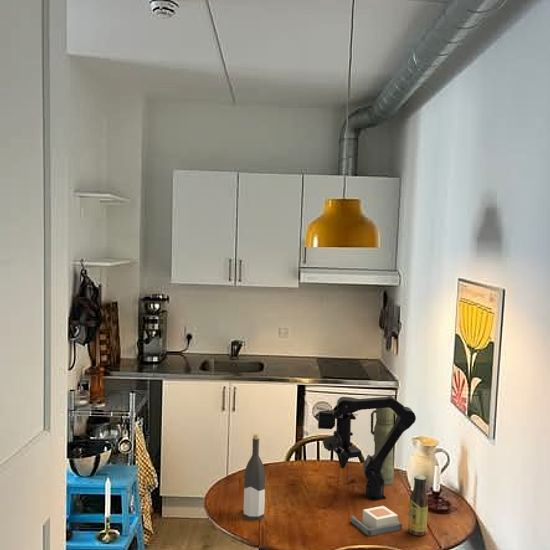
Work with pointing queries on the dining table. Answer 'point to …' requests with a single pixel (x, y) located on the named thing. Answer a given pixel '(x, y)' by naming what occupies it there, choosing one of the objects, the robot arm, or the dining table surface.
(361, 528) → the frame
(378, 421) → the thermos
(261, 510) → the wine bottle
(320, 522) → the dining table surface
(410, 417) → the robot arm
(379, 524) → the carton
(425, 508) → the sauce bottle
